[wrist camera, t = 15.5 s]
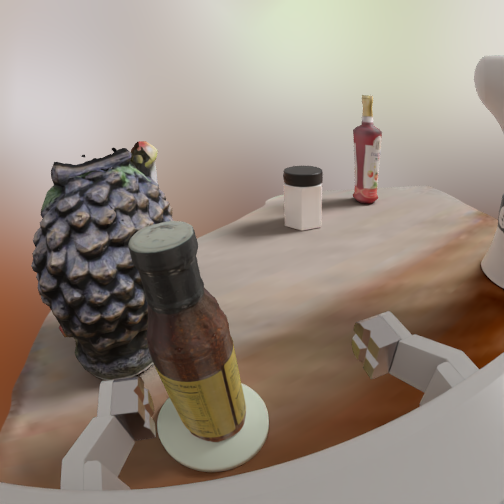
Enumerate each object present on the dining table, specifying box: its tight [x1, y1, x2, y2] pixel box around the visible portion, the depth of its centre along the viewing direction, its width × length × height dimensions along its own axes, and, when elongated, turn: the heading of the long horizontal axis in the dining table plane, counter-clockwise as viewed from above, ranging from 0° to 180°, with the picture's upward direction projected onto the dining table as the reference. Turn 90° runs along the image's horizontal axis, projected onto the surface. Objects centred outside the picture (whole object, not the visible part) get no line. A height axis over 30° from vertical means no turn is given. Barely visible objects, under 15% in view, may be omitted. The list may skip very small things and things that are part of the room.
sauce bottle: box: [128, 221, 246, 442], centre depth 23 cm, size 7×6×20 cm
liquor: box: [353, 95, 382, 204], centre depth 74 cm, size 7×7×28 cm
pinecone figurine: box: [32, 141, 173, 380], centre depth 34 cm, size 21×15×25 cm
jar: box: [283, 166, 322, 231], centre depth 67 cm, size 9×8×12 cm
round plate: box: [157, 383, 269, 472], centre depth 28 cm, size 11×11×1 cm
